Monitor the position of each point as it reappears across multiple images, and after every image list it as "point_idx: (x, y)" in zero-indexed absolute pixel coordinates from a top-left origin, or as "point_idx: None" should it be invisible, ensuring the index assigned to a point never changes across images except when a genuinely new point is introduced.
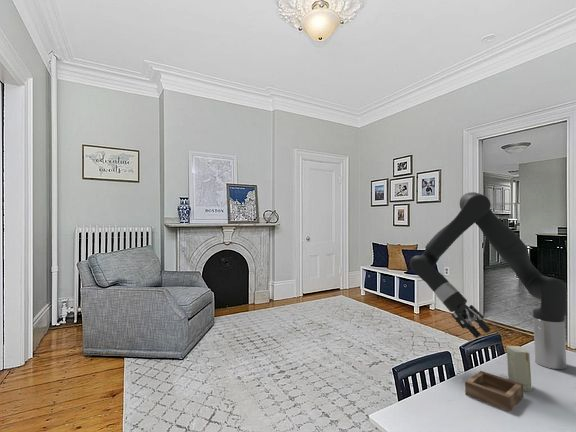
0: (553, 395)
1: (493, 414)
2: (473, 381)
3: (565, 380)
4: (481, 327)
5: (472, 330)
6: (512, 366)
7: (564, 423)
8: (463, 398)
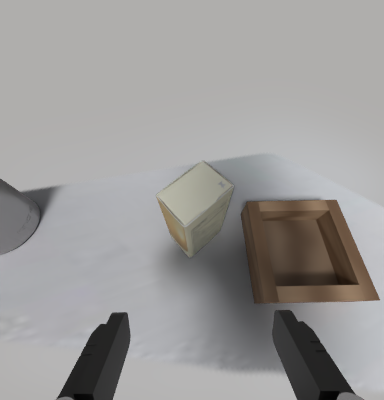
0: None
1: (358, 227)
2: (350, 285)
3: (95, 187)
4: (114, 385)
5: (332, 370)
6: (212, 224)
7: (270, 158)
8: None
